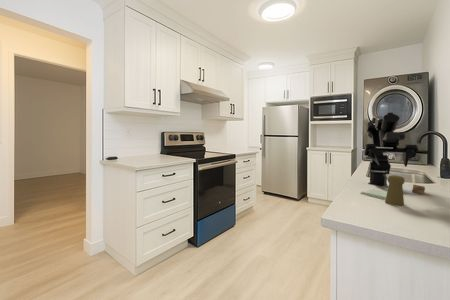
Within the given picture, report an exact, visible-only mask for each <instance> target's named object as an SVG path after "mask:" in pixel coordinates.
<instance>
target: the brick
mask: <svg viewBox="0 0 450 300" xmlns="http://www.w3.org/2000/svg"><path fill="white" fill-rule="evenodd" d="M411 190H412V193H417V194H418V195H425V191H426V187H425V186H424V185H417V184H413V186H412V189H411ZM417 194H416V195H417Z"/></svg>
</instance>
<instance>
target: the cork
mask: <svg viewBox="0 0 450 300" xmlns="http://www.w3.org/2000/svg"><path fill="white" fill-rule="evenodd" d="M387 182H388V186H387V187H388V190H387V191H386V192H387V195H386V200H385V199H384V200H385V201H384V203H385V204H388V205H390V206H395V207H397V206H398V207H405V199H404V198H405V197H404V192H403V188H404V187H403V185H404V184H405V177H403V176H401V175H394V174H393V175H392V174H391V175H389V176H387Z"/></svg>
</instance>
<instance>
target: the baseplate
mask: <svg viewBox="0 0 450 300" xmlns="http://www.w3.org/2000/svg"><path fill="white" fill-rule="evenodd" d="M360 194H361V195H364V196H369V197H373V198H377V199H380V200H386V195H387V191H386V190H381V189H376V188H372V189H368V190H364V191H360Z"/></svg>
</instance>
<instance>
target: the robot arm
mask: <svg viewBox="0 0 450 300" xmlns="http://www.w3.org/2000/svg"><path fill="white" fill-rule="evenodd" d="M399 121H400V116H399V115H398V114H394V113H393V112H387V113H386V114H384V116H373V117H372V119H371V120H369V122H367V124H366V131H365V132H366V133H367V136H368V137H369V138H370V140H371V143H366V144H365V146H364V150H363V154H364V156H366V157H368V158H371V159H370V161H369V165H368V168H367V169H368V170H367V172H368V173H369V175H370V177H369V182H368V183H367V184H368V185H372V186H378V187H383V186H384V187H385V186H387V185H388V184H387V182H388V176H387V175H390V170H391V168H392V167H391V163H390V162H389V158H388V155H386V154H402V160H403V165H404V167H407V166H408V162H409V160H411V159H413V158H416V156H417V153H418V151H419V146H418V145H417V144H405V145H404V147H398V146H399V145H400V141H404V140H405V139H406V133H405V131H396V130H397V127H398V125H399ZM384 153H386V154H384Z"/></svg>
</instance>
